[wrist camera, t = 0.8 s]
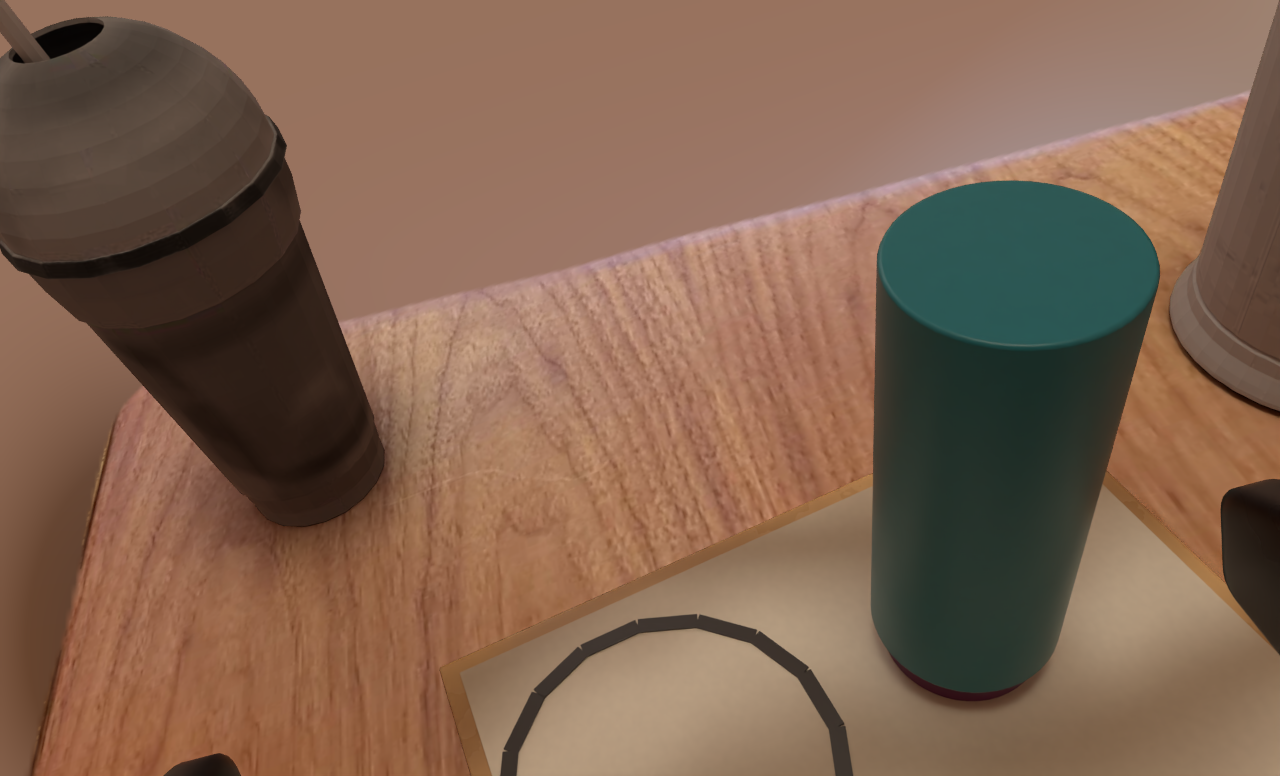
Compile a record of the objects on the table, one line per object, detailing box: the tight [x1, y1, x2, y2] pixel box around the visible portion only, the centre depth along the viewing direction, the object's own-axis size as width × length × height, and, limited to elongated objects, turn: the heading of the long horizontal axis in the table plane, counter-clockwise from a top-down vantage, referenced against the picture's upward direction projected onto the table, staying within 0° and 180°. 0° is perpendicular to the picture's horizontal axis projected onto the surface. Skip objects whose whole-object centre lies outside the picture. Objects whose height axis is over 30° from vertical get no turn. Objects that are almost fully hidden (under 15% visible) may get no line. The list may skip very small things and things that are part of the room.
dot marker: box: [871, 181, 1160, 701], centre depth 20 cm, size 4×4×12 cm
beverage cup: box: [0, 0, 384, 526], centre depth 26 cm, size 7×7×20 cm
